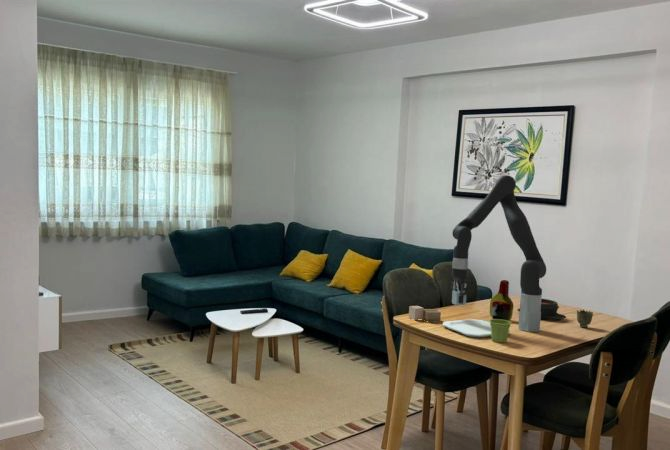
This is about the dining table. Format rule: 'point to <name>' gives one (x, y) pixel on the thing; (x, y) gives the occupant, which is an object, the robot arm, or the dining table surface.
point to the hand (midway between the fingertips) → (458, 302)
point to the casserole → (549, 310)
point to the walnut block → (431, 315)
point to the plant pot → (499, 330)
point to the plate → (470, 327)
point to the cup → (584, 318)
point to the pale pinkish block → (416, 312)
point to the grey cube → (457, 298)
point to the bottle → (502, 303)
